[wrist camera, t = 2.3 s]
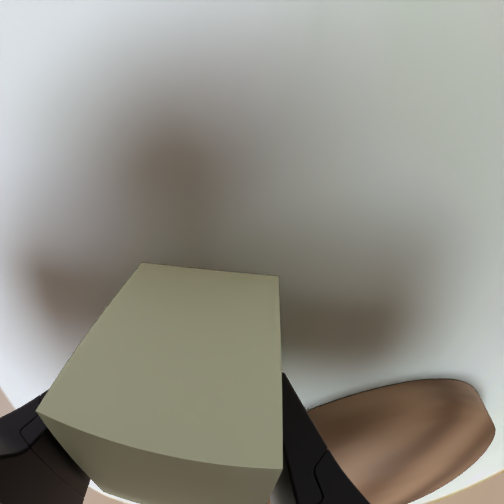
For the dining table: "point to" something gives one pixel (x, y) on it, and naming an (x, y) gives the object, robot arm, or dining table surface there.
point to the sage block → (177, 390)
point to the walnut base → (405, 437)
